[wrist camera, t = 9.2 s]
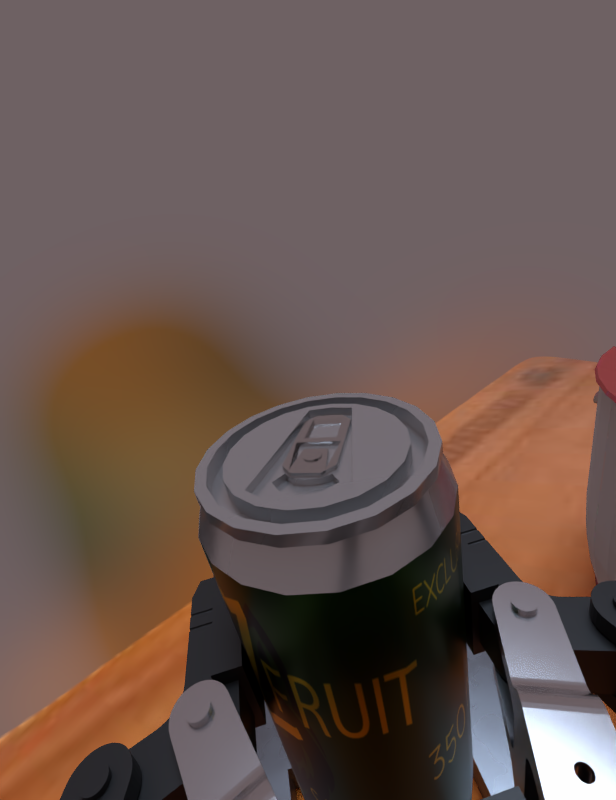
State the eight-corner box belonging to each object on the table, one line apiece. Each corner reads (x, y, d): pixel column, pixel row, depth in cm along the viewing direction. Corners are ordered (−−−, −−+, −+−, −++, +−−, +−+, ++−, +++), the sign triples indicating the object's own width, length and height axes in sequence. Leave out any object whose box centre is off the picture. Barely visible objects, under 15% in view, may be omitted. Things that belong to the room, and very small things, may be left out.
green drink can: (322, 664, 16) (244, 396, 11) (465, 684, 14) (447, 380, 10) (281, 856, 12) (120, 539, 7) (486, 916, 10) (469, 556, 5)
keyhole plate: (767, 1083, 13) (786, 1070, 12) (199, 1352, 11) (175, 1358, 10) (448, 580, 31) (446, 561, 30) (215, 653, 29) (207, 635, 28)
